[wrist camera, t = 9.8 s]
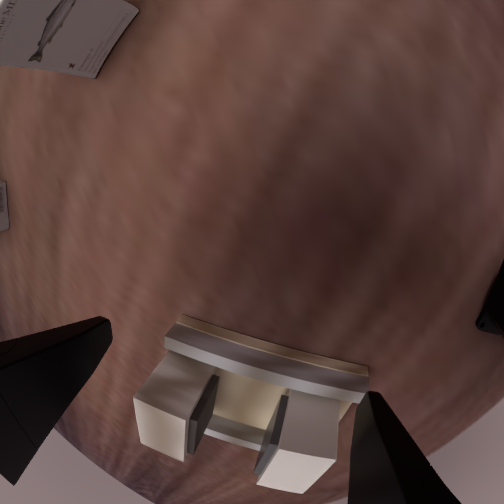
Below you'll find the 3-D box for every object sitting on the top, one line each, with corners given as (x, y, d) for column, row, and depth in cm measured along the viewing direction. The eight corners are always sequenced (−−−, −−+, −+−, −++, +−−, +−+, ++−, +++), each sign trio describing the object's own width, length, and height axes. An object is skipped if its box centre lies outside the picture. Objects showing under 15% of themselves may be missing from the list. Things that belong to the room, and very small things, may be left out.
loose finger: (339, 390, 21) (336, 459, 15) (311, 434, 24) (302, 493, 17) (286, 378, 22) (270, 446, 15) (266, 424, 24) (249, 482, 18)
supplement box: (96, 81, 19) (-31, 70, 7) (59, 56, 18) (-45, 46, 7) (144, 9, 16) (29, -44, 4) (99, -6, 16) (2, -41, 4)
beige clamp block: (367, 366, 21) (374, 446, 14) (320, 440, 26) (311, 504, 18) (182, 314, 24) (130, 375, 16) (177, 398, 28) (143, 453, 20)
